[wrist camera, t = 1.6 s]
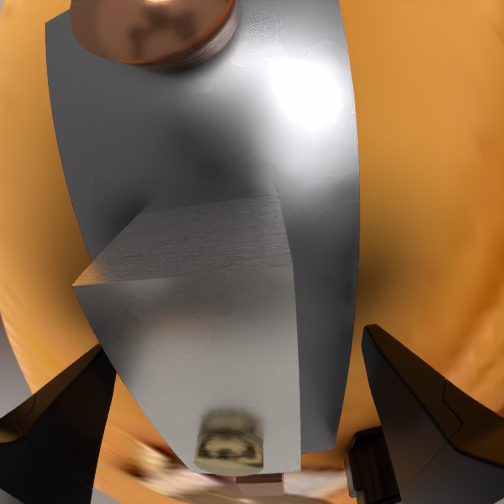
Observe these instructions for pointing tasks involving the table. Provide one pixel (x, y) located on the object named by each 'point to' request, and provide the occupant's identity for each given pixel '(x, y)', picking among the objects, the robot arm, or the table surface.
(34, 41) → the table surface
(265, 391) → the brown and grey block
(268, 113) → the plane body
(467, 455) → the robot arm
